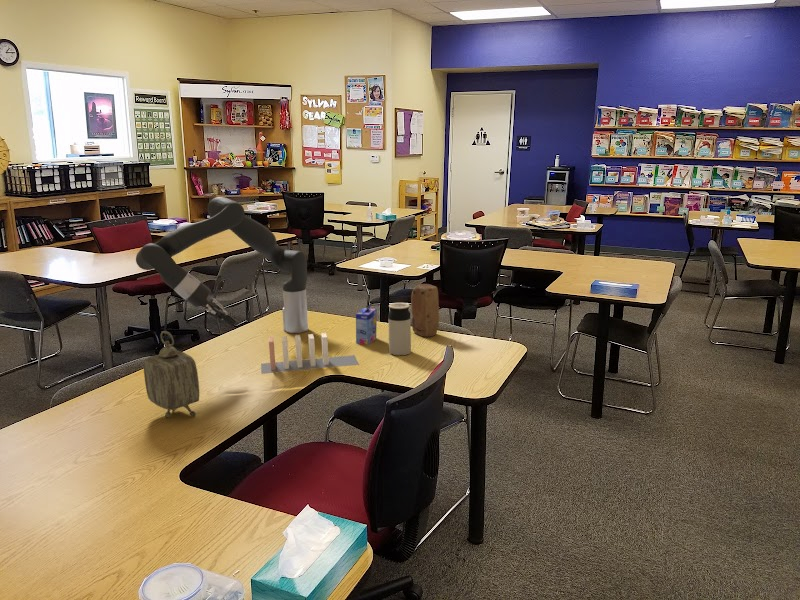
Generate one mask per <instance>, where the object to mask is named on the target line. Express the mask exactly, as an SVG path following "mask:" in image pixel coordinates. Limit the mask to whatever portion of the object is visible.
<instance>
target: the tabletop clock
mask: <svg viewBox="0 0 800 600" xmlns="http://www.w3.org/2000/svg"><path fill="white" fill-rule="evenodd" d="M163 334H165V335H167V336H168V337H169V338H170V340H171V344H170V341H169V340H166V341H165V340H164V339H163ZM159 336H160V337H159V338H160V341H161V342H162V344H163V345H165V346H164V347H162V348H161V349H160V350H159V353H158V354H155V355H152V356H149V357H147V359H146V360H145V361H144V362H143V373H144V374H143V375H144V384H145V390H146V394H147V398H148V400H149V401H150V402H151V403H153V404H154V405H156V406H158V407H160V408H163V409H165V410H167V412H165V414H164V416H165V417H166V418H167V419H168V418H170V417H171V416H172V413H171V412H170V411H174V410H177V409H180V408H185V409H186V410H187V411H188V412H189V416H190V417H192V418H194V417H196V414H197V413H196V411H194V410H193V411H192V409H191V408H190V406H189V405H191V404H195V403H197V402H199V401H200V381H199V374H198V369H197V365H196V361H195V359H194V358H193V357H192V356H191V355H190V354H187V353H185V352H183V351H181V350H177V348H176V347H175V346H174V345H175V339H174V337H173V335H172V333H171V332H169V331H167V330H163V331H161V333H160V335H159Z"/></svg>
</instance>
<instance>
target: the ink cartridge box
mask: <svg viewBox="0 0 800 600" xmlns="http://www.w3.org/2000/svg"><path fill="white" fill-rule="evenodd" d="M371 306H372V304H369V305H368V306H367V307H363V308H362V309H360V310H359V311H358V312H357V313H355V344H360V345H369V344H371V343H373V342H374V341H375V340H376V339H377V322H378V321H377V320H378V319H377V311H378V310H377V308H371Z"/></svg>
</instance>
